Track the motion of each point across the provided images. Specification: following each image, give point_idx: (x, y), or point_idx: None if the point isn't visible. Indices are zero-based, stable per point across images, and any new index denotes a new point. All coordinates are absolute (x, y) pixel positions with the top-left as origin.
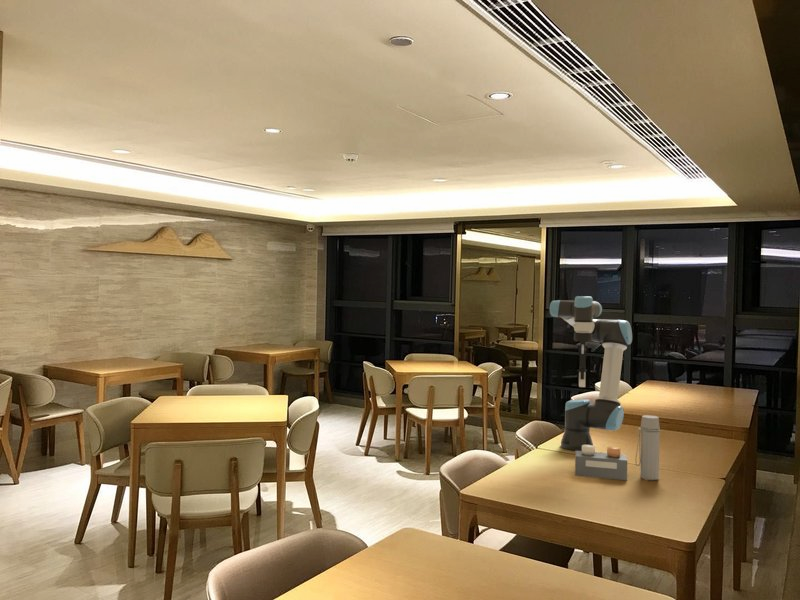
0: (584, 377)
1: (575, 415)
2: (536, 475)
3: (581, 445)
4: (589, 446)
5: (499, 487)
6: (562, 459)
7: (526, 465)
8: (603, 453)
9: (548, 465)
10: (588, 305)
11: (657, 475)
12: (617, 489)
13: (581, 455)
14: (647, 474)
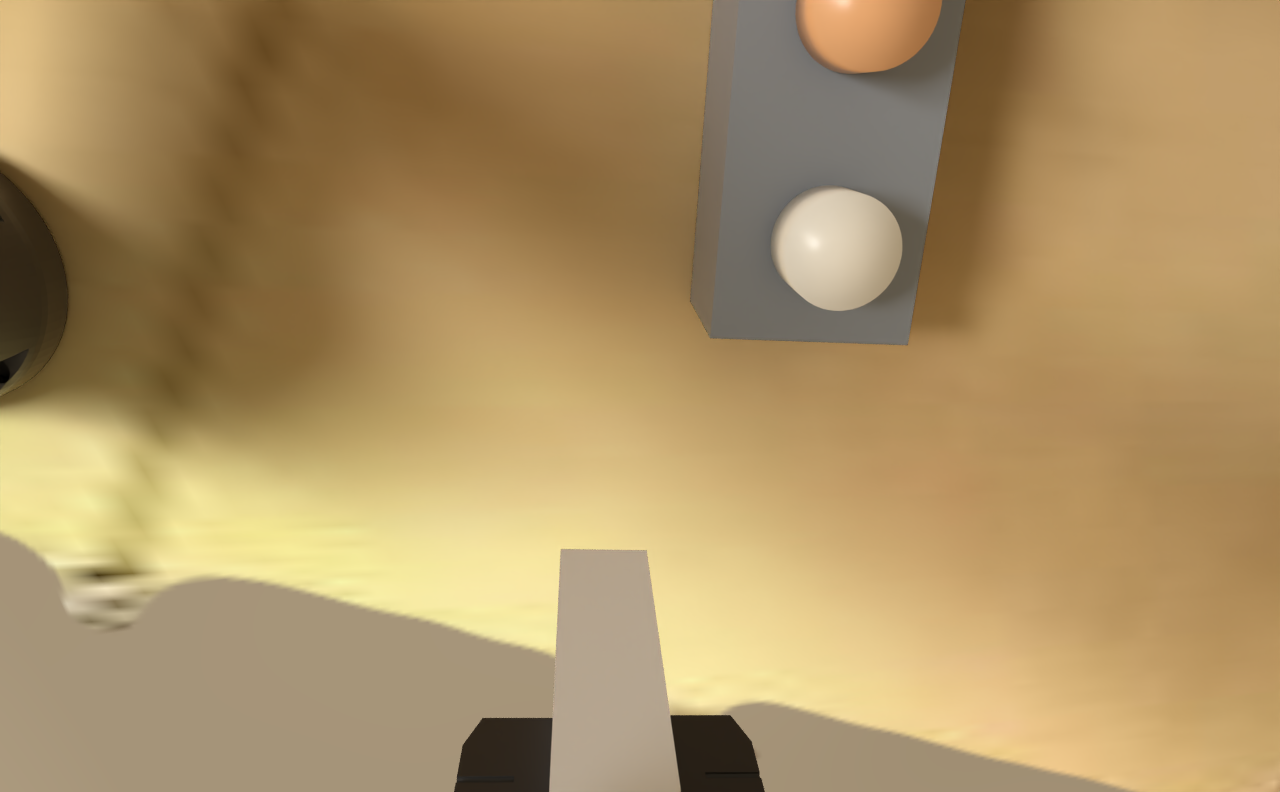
0: (665, 742)
1: None
2: (896, 535)
3: (18, 244)
4: (856, 243)
5: (1159, 689)
6: (418, 388)
7: (672, 602)
8: (756, 99)
9: (629, 476)
10: None
11: None
12: (1149, 33)
13: (875, 298)
14: None
